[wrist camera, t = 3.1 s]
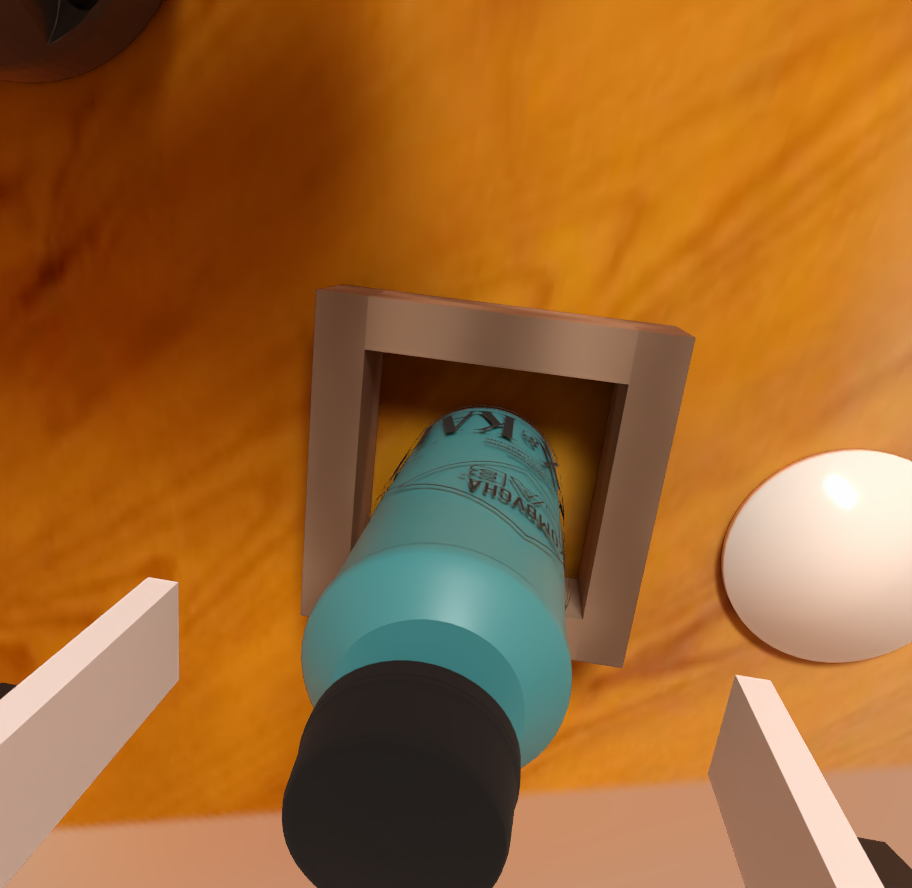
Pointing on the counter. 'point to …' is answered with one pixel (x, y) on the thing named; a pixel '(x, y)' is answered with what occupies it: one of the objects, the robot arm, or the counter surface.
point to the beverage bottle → (435, 666)
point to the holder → (513, 347)
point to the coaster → (826, 556)
